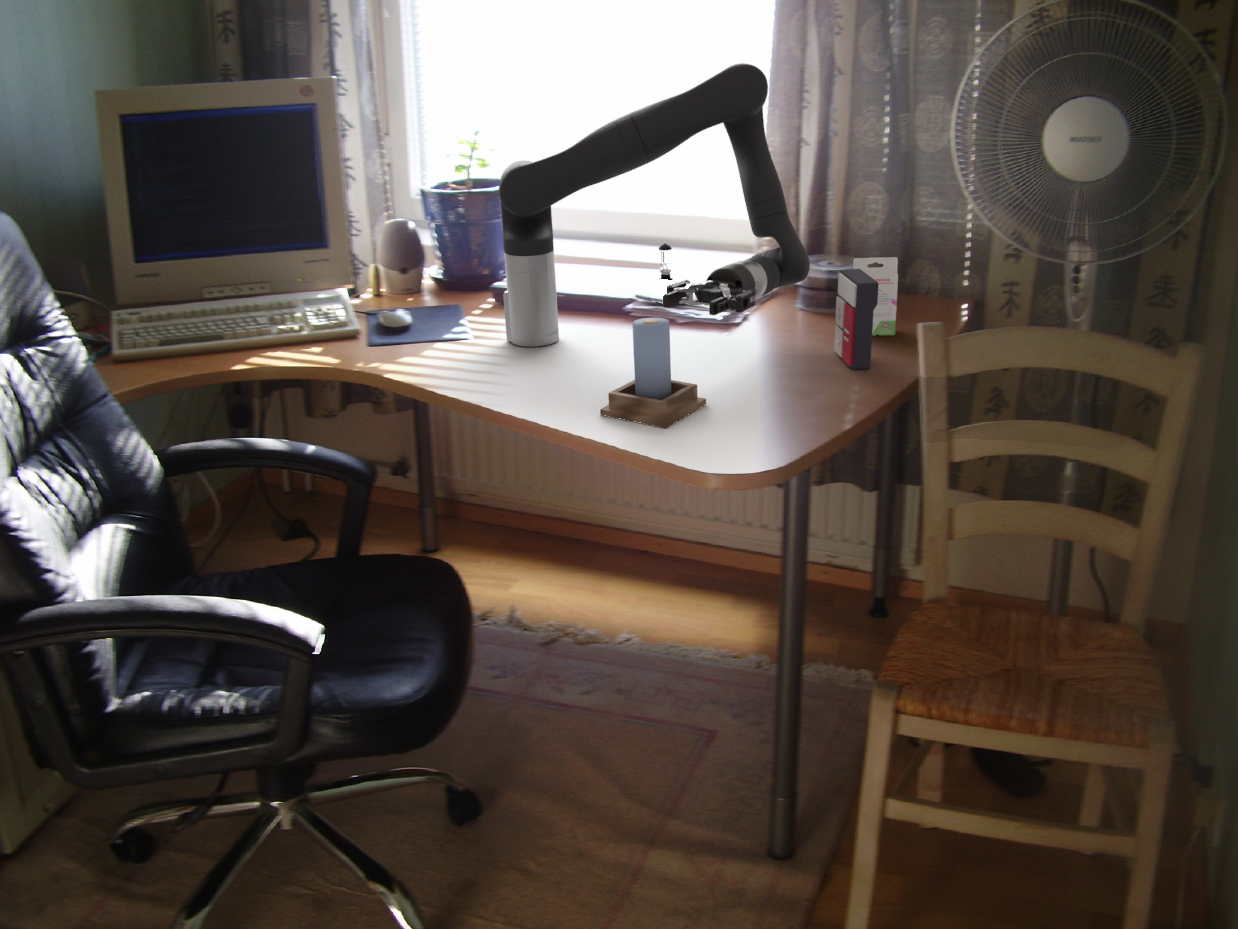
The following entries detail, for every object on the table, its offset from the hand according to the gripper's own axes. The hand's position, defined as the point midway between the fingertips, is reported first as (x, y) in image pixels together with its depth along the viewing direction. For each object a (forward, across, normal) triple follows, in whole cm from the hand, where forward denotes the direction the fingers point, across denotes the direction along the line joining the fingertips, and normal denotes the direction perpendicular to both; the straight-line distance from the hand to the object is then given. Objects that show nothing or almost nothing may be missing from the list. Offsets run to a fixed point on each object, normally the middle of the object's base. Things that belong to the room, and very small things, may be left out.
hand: (688, 305), depth 172 cm
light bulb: (-49, -35, +14) cm, 62 cm away
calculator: (-27, +18, +14) cm, 35 cm away
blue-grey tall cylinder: (+11, 0, +13) cm, 17 cm away
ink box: (-45, +13, +14) cm, 49 cm away
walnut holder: (+11, +1, +14) cm, 18 cm away
